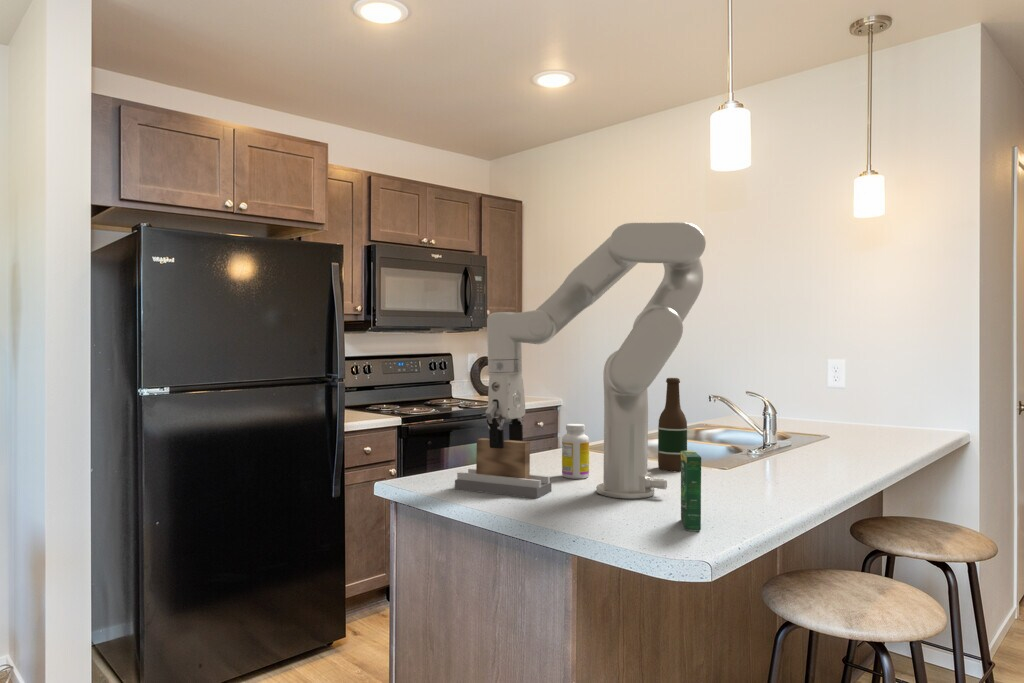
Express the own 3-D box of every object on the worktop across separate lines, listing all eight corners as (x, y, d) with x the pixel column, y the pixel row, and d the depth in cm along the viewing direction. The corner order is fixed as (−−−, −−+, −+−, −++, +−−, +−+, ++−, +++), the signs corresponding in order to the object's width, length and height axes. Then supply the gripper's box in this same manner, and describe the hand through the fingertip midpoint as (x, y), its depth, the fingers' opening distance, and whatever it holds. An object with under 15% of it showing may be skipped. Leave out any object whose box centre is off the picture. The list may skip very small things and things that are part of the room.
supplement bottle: (588, 474, 168) (589, 423, 168) (589, 480, 162) (589, 426, 162) (562, 473, 169) (562, 422, 169) (561, 479, 162) (561, 425, 162)
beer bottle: (652, 466, 180) (652, 377, 180) (678, 465, 182) (679, 377, 182) (665, 472, 172) (666, 378, 172) (693, 471, 174) (693, 378, 174)
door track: (551, 491, 149) (551, 475, 149) (537, 498, 141) (537, 481, 141) (472, 482, 157) (472, 467, 157) (454, 489, 150) (455, 473, 150)
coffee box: (679, 519, 126) (680, 449, 126) (695, 519, 125) (695, 449, 126) (684, 530, 118) (685, 456, 118) (701, 531, 117) (702, 456, 118)
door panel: (529, 482, 148) (529, 441, 148) (524, 484, 146) (525, 443, 146) (481, 477, 153) (481, 438, 153) (476, 479, 151) (476, 439, 151)
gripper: (502, 369, 140) (504, 451, 140) (535, 366, 156) (537, 440, 156) (471, 369, 143) (473, 449, 143) (506, 366, 159) (508, 439, 159)
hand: (506, 444), depth 149 cm, fingers open, 9 cm apart
